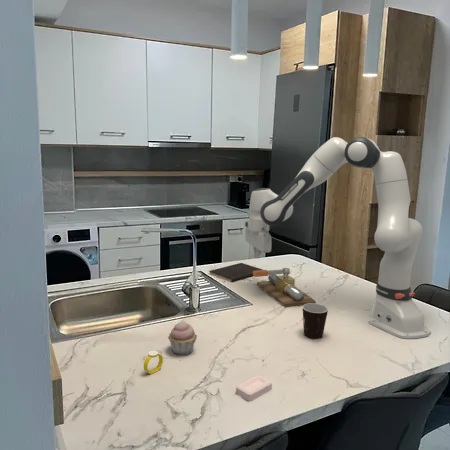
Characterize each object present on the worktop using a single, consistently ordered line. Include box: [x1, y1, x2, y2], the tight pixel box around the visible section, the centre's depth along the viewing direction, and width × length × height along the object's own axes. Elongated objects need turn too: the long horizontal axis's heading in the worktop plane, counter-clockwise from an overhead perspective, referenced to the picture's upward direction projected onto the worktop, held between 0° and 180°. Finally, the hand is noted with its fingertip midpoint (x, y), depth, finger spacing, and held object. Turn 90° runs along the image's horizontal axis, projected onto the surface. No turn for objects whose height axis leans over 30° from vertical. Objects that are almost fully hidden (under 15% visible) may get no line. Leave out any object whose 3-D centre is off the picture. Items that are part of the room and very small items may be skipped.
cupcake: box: [167, 320, 198, 356], centre depth 136 cm, size 9×9×10 cm
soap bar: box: [235, 374, 273, 402], centre depth 116 cm, size 5×9×2 cm, turn 133°
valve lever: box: [253, 267, 291, 278], centre depth 185 cm, size 17×3×2 cm, turn 109°
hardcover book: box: [208, 262, 264, 283], centre depth 215 cm, size 16×23×2 cm
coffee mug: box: [302, 303, 329, 340], centre depth 148 cm, size 12×9×10 cm
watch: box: [143, 350, 164, 375], centre depth 124 cm, size 6×3×6 cm, turn 139°
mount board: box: [256, 280, 317, 308], centre depth 189 cm, size 28×14×2 cm, turn 19°
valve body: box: [267, 274, 304, 302], centre depth 188 cm, size 26×6×8 cm, turn 19°
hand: (257, 257), depth 187 cm, fingers closed
